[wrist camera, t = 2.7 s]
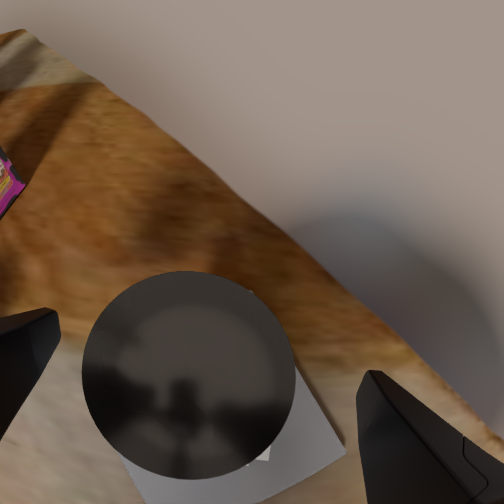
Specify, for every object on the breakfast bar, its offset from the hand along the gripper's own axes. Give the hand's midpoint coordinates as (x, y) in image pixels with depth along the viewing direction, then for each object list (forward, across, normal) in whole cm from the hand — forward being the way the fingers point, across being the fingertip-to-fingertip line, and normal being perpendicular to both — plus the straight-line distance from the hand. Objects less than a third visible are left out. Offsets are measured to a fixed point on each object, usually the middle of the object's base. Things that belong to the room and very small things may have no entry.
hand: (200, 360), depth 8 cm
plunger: (+3, 0, +4) cm, 6 cm away
